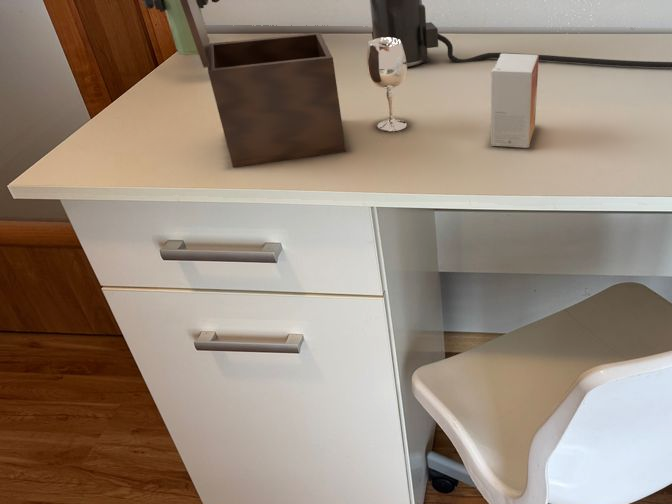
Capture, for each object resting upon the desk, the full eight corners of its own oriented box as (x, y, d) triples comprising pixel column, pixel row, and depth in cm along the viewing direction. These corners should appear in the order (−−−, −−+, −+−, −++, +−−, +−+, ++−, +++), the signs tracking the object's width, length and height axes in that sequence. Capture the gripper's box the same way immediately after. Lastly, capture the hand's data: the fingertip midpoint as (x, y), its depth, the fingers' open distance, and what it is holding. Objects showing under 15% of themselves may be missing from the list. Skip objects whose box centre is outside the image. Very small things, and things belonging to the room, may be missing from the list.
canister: (210, 43, 120) (194, -19, 113) (211, 53, 116) (194, -12, 109) (178, 47, 119) (159, -16, 112) (177, 56, 114) (158, -8, 108)
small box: (528, 149, 95) (532, 72, 88) (489, 146, 95) (490, 70, 89) (536, 127, 100) (539, 53, 94) (499, 125, 101) (500, 52, 95)
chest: (333, 120, 104) (320, 32, 96) (346, 151, 95) (332, 57, 87) (230, 133, 101) (207, 43, 92) (232, 167, 92) (207, 71, 83)
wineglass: (373, 119, 104) (364, 37, 96) (410, 117, 104) (404, 35, 96) (372, 134, 100) (363, 49, 92) (411, 132, 100) (405, 47, 92)
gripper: (133, -39, 118) (125, -18, 106) (217, -45, 121) (219, -27, 109) (147, 8, 123) (141, 32, 111) (228, 0, 126) (231, 23, 114)
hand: (180, 3), depth 110 cm, fingers closed on canister, 5 cm apart
